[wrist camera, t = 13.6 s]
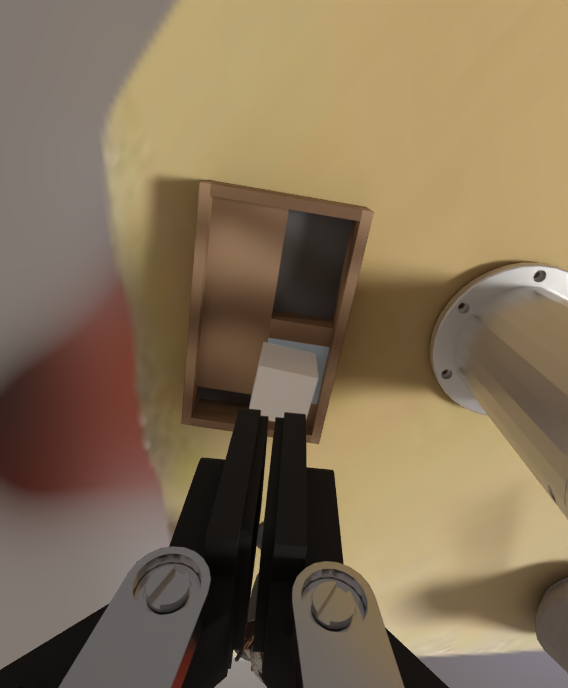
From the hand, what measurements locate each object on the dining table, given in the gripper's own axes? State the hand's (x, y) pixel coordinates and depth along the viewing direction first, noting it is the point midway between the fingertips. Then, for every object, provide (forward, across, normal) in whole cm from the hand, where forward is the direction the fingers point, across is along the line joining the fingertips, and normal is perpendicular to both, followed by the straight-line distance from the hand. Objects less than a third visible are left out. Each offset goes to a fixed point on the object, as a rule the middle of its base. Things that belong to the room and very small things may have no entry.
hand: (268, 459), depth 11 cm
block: (+20, 0, +8) cm, 21 cm away
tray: (+22, +1, +4) cm, 23 cm away
